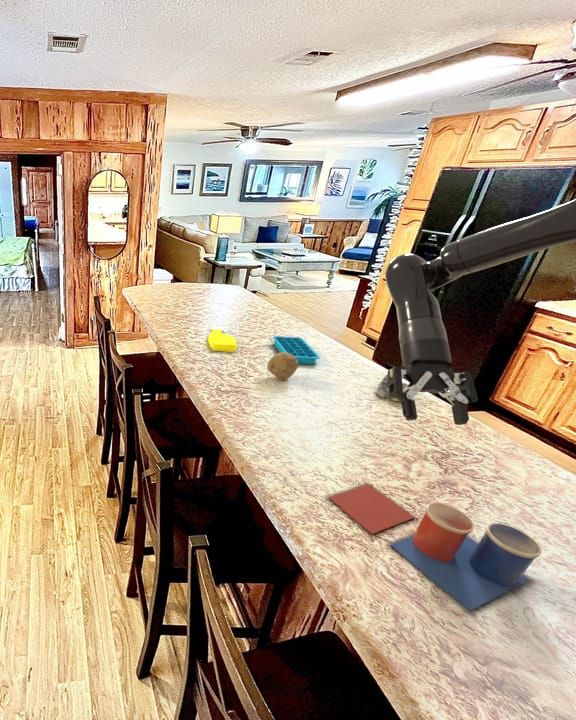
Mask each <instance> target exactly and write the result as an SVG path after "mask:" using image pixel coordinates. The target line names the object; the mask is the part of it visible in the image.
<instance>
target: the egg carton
mask: <svg viewBox="0 0 576 720" xmlns="http://www.w3.org/2000/svg"><path fill="white" fill-rule="evenodd" d="M408 384H409V383H406V382H402V386H403V392H404V389H405V388H406V387H407V385H408ZM377 395H378V397H381V398H387V399H390V400H392V401H394V402H400V403H401V401H400V400H399V399H396V398H391V397H390V396H389V390H388V374H385V376H384V377H383V379H381V381H380V382H379V383H378V386H377V392H376V396H377Z"/></svg>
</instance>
